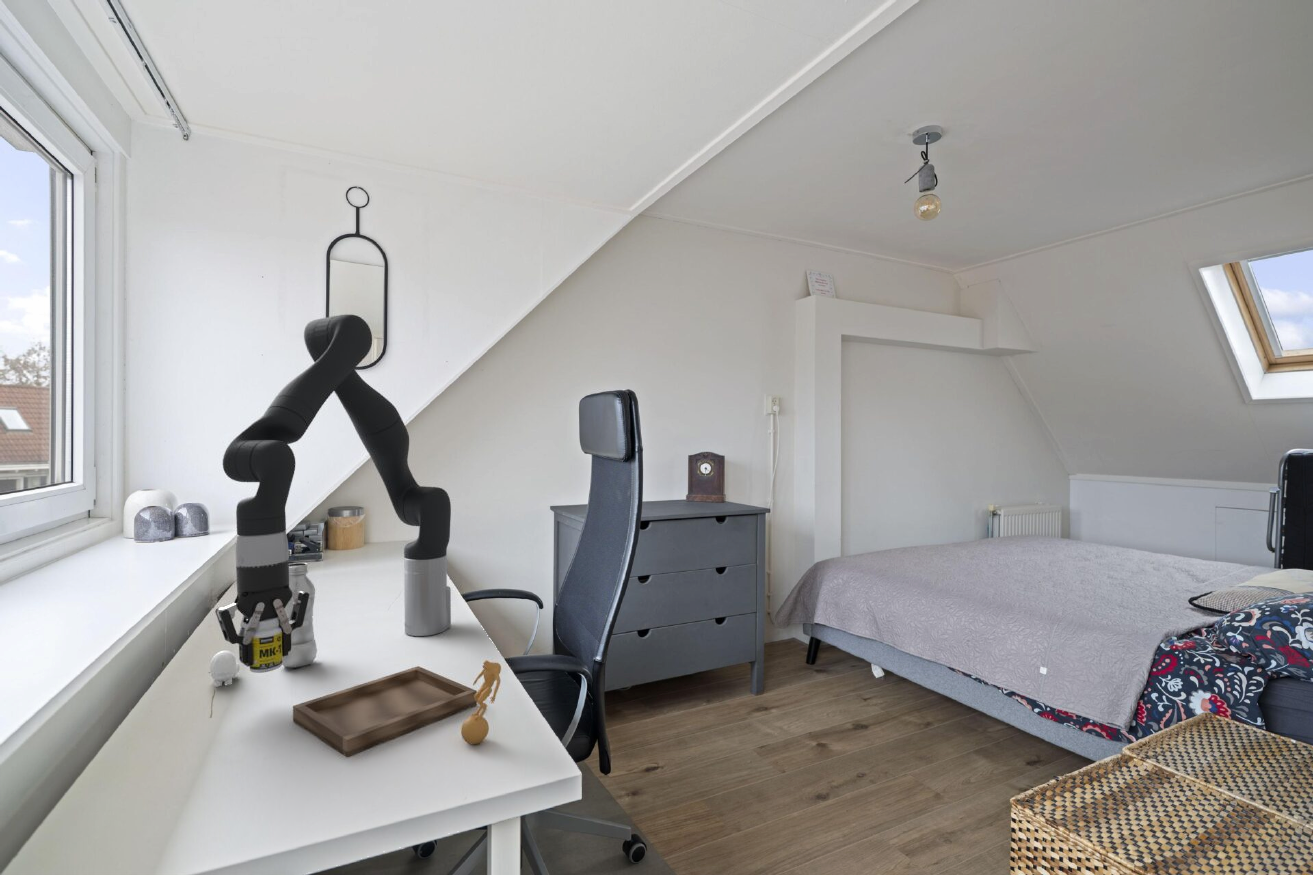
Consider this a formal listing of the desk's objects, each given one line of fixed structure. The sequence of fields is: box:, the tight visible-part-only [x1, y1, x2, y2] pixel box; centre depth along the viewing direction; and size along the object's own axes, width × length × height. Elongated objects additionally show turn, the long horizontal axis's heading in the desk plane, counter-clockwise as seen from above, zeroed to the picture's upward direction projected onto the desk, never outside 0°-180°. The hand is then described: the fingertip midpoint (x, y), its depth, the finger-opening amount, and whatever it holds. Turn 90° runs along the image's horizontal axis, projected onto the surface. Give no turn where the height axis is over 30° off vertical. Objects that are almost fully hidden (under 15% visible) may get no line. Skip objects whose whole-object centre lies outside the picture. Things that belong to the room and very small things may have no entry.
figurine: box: [460, 659, 502, 745], centre depth 98 cm, size 8×6×12 cm
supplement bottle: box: [249, 617, 283, 674], centre depth 109 cm, size 5×5×8 cm
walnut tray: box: [292, 665, 478, 758], centre depth 107 cm, size 22×18×2 cm
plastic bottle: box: [282, 562, 318, 669], centre depth 128 cm, size 6×7×20 cm
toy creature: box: [208, 650, 241, 687], centre depth 120 cm, size 5×8×6 cm, turn 25°
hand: (266, 659), depth 109 cm, fingers closed on supplement bottle, 4 cm apart
